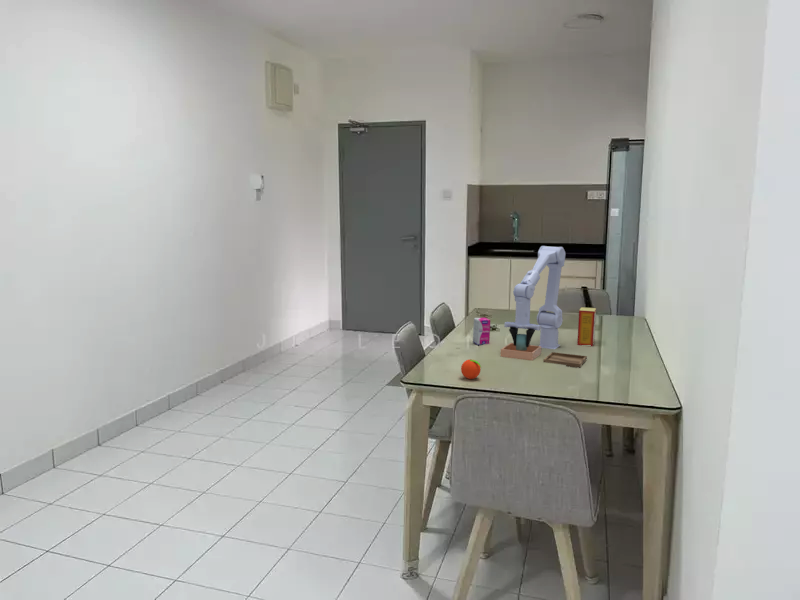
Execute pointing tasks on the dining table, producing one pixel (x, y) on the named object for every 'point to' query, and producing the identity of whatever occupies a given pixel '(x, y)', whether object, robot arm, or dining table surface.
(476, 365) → the clementine
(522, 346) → the teal cylinder
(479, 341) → the supplement box
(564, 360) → the tray
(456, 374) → the dining table surface
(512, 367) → the dining table surface
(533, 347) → the pink storage bin
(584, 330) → the baking soda box
